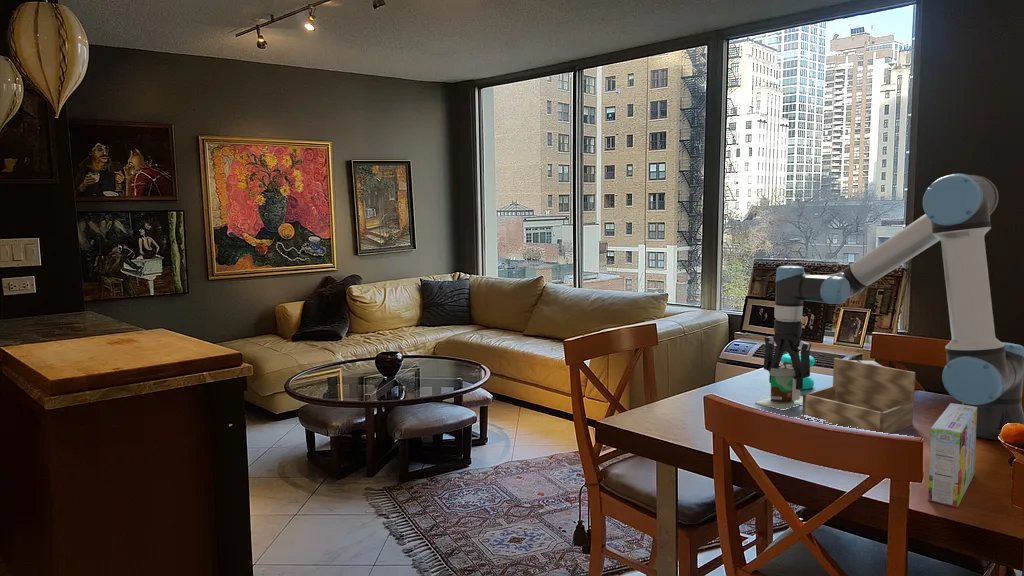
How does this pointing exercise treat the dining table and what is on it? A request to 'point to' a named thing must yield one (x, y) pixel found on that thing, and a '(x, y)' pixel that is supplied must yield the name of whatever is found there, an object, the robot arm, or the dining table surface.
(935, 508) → the dining table surface
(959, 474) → the snack box
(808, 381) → the donuts
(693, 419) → the dining table surface
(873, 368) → the wooden box
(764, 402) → the mat
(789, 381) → the food container
